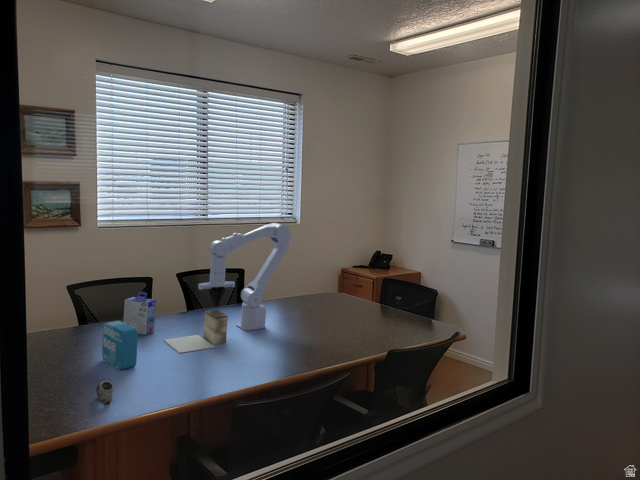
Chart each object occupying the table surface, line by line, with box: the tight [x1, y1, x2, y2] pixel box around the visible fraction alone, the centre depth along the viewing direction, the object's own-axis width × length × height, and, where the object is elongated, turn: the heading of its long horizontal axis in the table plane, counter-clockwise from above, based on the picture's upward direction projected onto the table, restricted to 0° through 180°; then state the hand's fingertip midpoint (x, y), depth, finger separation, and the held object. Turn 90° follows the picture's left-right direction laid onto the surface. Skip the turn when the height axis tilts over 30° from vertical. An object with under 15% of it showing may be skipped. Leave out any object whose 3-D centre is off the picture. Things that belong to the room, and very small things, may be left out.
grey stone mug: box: [95, 380, 115, 404], centre depth 119 cm, size 4×6×5 cm, turn 48°
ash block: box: [202, 309, 229, 346], centre depth 170 cm, size 5×8×10 cm, turn 39°
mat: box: [163, 334, 216, 354], centre depth 164 cm, size 13×14×1 cm
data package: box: [101, 320, 139, 371], centre depth 142 cm, size 12×4×12 cm, turn 53°
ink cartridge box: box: [123, 291, 157, 336], centre depth 172 cm, size 10×6×14 cm, turn 78°
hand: (215, 306), depth 181 cm, fingers closed
